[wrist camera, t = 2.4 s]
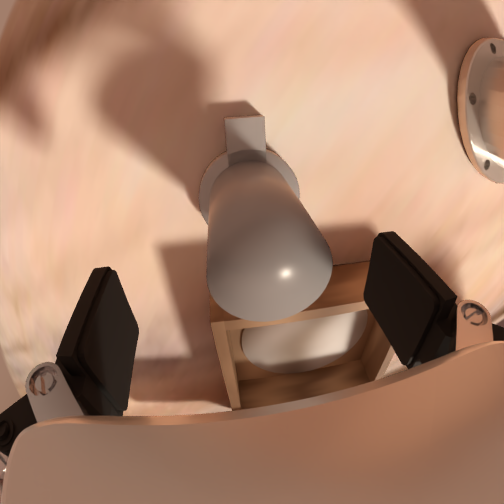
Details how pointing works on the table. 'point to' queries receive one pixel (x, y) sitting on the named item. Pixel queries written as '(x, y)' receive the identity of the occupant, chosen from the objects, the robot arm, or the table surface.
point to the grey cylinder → (259, 230)
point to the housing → (303, 346)
